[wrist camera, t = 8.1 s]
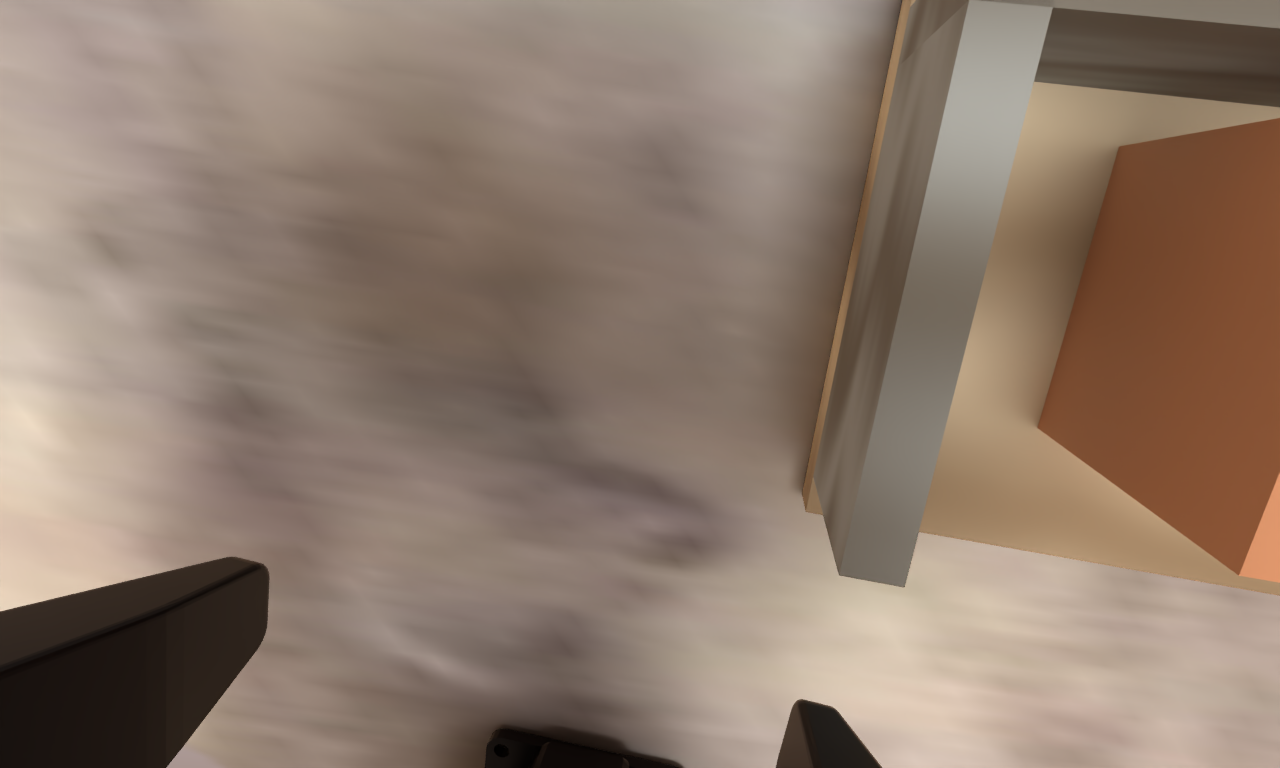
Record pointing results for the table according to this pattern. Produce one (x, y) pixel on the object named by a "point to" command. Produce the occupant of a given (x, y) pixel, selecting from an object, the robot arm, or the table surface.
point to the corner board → (1007, 270)
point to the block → (1184, 341)
